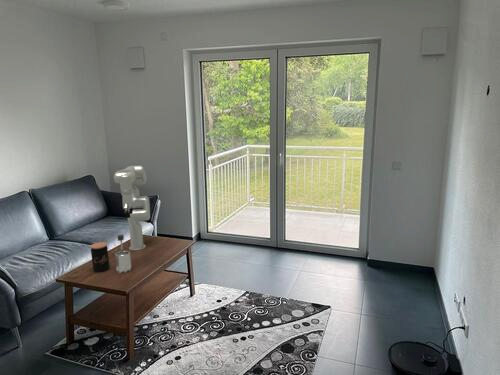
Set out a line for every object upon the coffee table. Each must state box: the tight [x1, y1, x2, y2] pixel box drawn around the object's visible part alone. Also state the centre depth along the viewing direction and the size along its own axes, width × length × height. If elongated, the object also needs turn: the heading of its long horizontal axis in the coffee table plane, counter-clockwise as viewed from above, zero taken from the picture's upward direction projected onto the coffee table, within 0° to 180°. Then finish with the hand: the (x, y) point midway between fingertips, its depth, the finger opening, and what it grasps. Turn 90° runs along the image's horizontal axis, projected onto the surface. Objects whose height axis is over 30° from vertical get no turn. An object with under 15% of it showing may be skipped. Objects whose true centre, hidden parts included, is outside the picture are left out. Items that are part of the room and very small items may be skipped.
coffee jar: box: [90, 241, 110, 273], centre depth 260 cm, size 11×11×18 cm
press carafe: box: [114, 250, 132, 274], centre depth 260 cm, size 12×9×12 cm
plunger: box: [117, 234, 128, 256], centre depth 256 cm, size 7×7×14 cm
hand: (129, 215), depth 263 cm, fingers open, 9 cm apart
